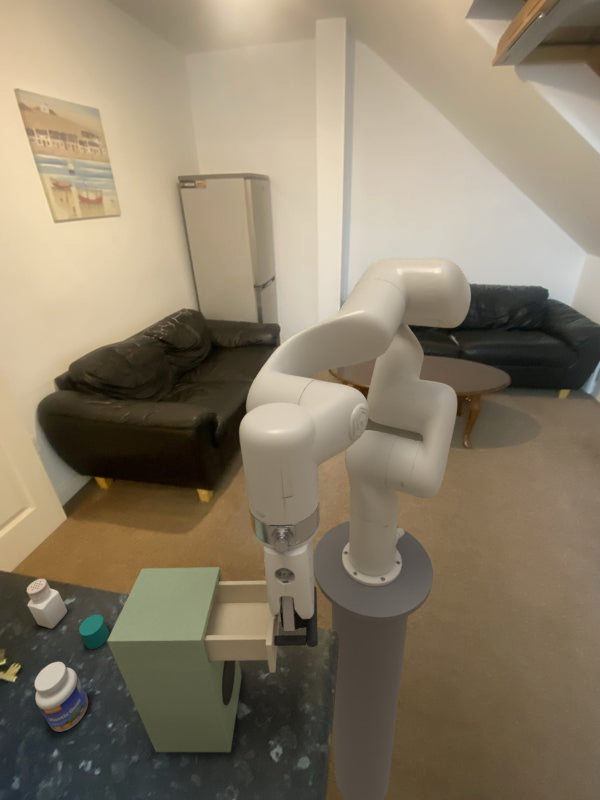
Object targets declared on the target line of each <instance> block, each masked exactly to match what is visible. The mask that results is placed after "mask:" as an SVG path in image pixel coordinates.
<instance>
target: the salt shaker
mask: <svg viewBox="0 0 600 800" xmlns="http://www.w3.org/2000/svg"><path fill="white" fill-rule="evenodd" d="M26 593H27V595H28V597H29V599H30V600H29V601H28V603H27V607H28V609H29V611H30V613H31V614H32V616H33V619H34V620H35V622H36V624H37V625H38V626H41V627H45V628H47V629H55V627H56V626H57V625H58V624H59V622H61V621H62V619H64V617H65V616H66V615H67V613H68V609H67V607H66V605H65V603H64V600H63V598H62V597H61V594H60V592H59V591H58V590H56V589H53V588H50V585H49V583H48V581H47V580H46V579H45V578H38V579H35V580H34V581H32V582H30V583H29V584H28V586H27V587H26Z"/></svg>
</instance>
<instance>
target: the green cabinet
mask: <svg viewBox="0 0 600 800" xmlns="http://www.w3.org/2000/svg"><path fill="white" fill-rule="evenodd" d="M221 571H222V570H221V568H220V566H202V567H199V566H198V567H151V568H150V567H147V568H146V567H145V568H141V569H140V572H139V573H138V576H137V578H136V580H135V582H134V584H133V585H132V588H131V590H130V593H129V595H128V596H127V599H126V601H125V603H124V605H123V607H122V609H121V611H120V612H119V615H118V617H117V619H116V621H115V624H114V626H113V627H112V630H111V632H110V633H109V636H108V638H107V640H106V643H107V644H108V647H109V649H110V651H111V654H112V655H113V658H114V660H115V663H116V666H117V667H118V669H119V672H120V674H121V676H122V679H123V681H124V683H125V686H126V688H127V690H128V692H129V695H130V697H131V699H132V701H133V703H134V706H135V708H136V711H137V713H138V714H139V717H140V719H141V721H142V724H143V726H144V728H145V731H146V733H147V735H148V737H149V740H150V742H151V744H152V746H153V748H154V751H155V753H231V752H232V745H233V738H234V731H235V724H236V719H237V713H238V704H239V703H238V702H239V698H240V690H241V683H242V671H241V665H240V660H224V661H209V660H208V656H207V652H206V648H205V644H204V641H203V640H204V637H205V633H206V629H207V625H208V621H209V617H210V613H211V609H212V605H213V601H214V597H215V593H216V589H217V585H218V581H223V576H222V572H221Z"/></svg>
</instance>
